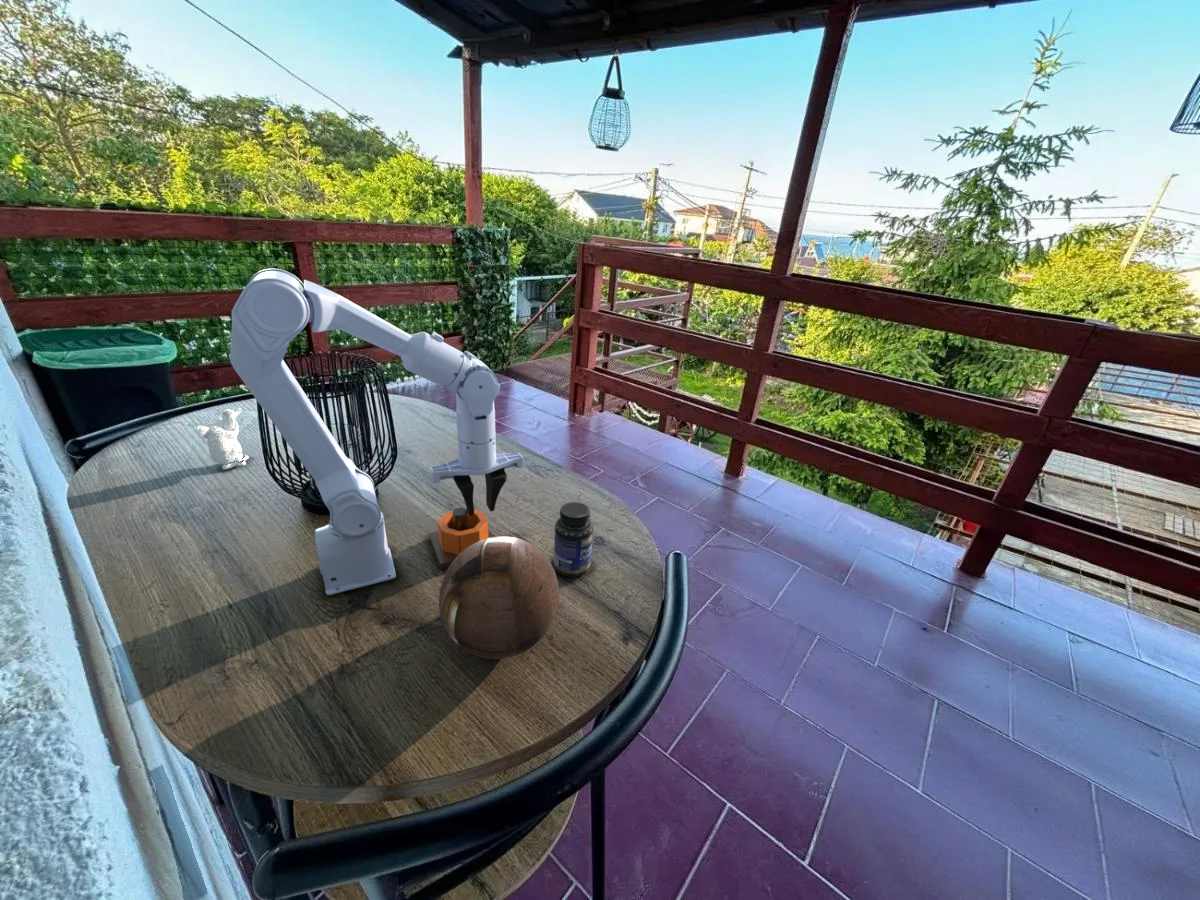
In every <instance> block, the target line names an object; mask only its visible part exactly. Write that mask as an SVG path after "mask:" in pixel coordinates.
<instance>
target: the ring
mask: <svg viewBox="0 0 1200 900" xmlns="http://www.w3.org/2000/svg"><path fill="white" fill-rule="evenodd" d="M464 508H465V509H467V508H466V507H464ZM452 512H453V510H449V511H447V512H445V514H444V515H442V516H441V517H440V518H439V519H438V520H437V529H438V530H437V531H439V541H440V544H441V547H442V549H443V551H444V552H448V553H452V554H456V555H459V554H460V553H461V552H462V551H464V550H465V549H466V548H468V547H469V546H471V545H472V544H474V543H476V542H478V541H481V540H483V539H487V538H488V536H489V520H488V518H487V517H486V515H485V513H484V511H482V510H477V509H474V515H472V516H470V515H469V513H468V528H469V529H468V530H463V531H458V530H454V528H453V514H452Z"/></svg>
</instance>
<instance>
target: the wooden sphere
mask: <svg viewBox="0 0 1200 900" xmlns="http://www.w3.org/2000/svg"><path fill="white" fill-rule="evenodd" d="M559 600H560V587H559V581H558V577H557V573H556V570H555V568H554V566H553V565H552V563H551V561H550V560H549V559H548V556H546V554H544V552H542V551H541V550H540V549H539V548H538V547H537V546H535V545H534V544H532V543H530V542H528V541H526V540H524V539H521V538H518V537H515V536H508V535H507V536H506V535H503V536H502V535H500V536H492V537H489V538H487V539H483V540H481V541H478V542H476V543H474V544H472V545H471V546H469V547H468V548H466V549H465V550H464V551H462V552H461V553H460V554H459V555H458V556H457V557H456V558H455V559H454V561H453V562H452V563H451V565H450V566H449V568H447V569H446V571H445V574H444V576H443V578H442V581H441V585H440V589H439V593H438V607H439V613H440V618H441V621H442V624H443V626H444V629H445V630H446V633H447V634H448V635H449V637H450V639H452V641H453V642H454V643H455V644H456V645H457V646H458V647H460V648H461V650H462V649H463V650H464V651H465V652H467V653H469V654H470V655H474V656H476V657H479V658H483V659H488V660H504V659H509V658H512V657H513V658H514V657H515V656H518V655H521V654H522V653H524V652H526V651H528V650H529V649H531V648H533V647H534V646H535V645H536V644H537V643H539V642H540V641H541V640H542V639H543V638H544V636H546V634H547V633H548V631H549V630H550V628H551V626H552V624H553V623H554V620H555V618H556V615H557V612H558V608H559Z"/></svg>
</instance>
